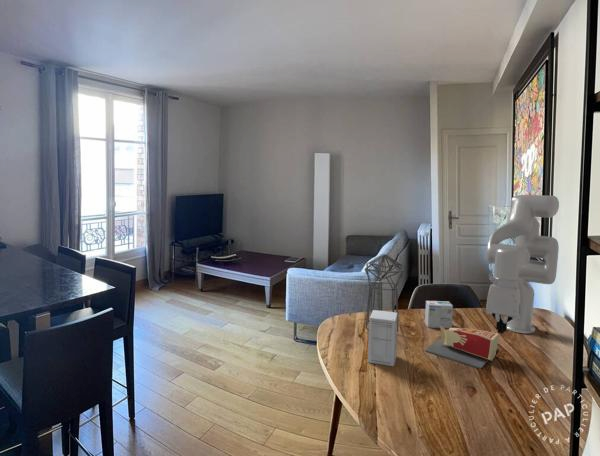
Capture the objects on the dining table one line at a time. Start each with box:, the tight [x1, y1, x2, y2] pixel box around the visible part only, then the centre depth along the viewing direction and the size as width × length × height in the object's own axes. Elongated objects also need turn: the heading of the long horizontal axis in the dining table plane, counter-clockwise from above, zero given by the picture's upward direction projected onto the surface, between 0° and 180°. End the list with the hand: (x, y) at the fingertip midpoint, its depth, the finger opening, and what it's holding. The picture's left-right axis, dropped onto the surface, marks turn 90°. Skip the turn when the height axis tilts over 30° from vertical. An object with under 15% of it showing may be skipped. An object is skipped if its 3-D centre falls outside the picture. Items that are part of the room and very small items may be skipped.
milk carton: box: [439, 326, 500, 362], centre depth 143 cm, size 9×9×20 cm
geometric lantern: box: [364, 253, 405, 333], centre depth 156 cm, size 16×16×35 cm
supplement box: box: [367, 309, 399, 367], centre depth 136 cm, size 10×9×17 cm
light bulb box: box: [424, 300, 454, 329], centre depth 170 cm, size 11×7×11 cm, turn 84°
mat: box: [425, 338, 499, 370], centre depth 145 cm, size 22×20×1 cm
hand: (501, 332), depth 135 cm, fingers closed
